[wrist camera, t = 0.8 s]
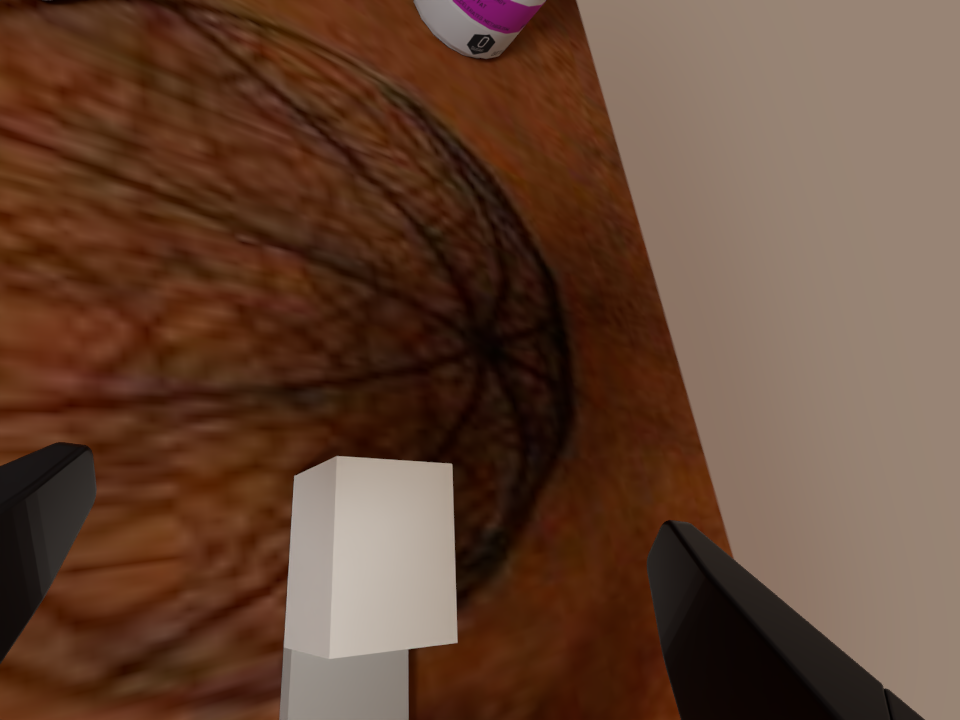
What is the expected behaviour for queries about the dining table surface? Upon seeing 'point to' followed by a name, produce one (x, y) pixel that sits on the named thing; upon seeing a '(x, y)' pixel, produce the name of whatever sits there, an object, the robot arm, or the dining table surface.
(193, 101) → the dining table surface
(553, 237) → the dining table surface
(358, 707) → the white block dumbbell
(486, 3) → the supplement can
